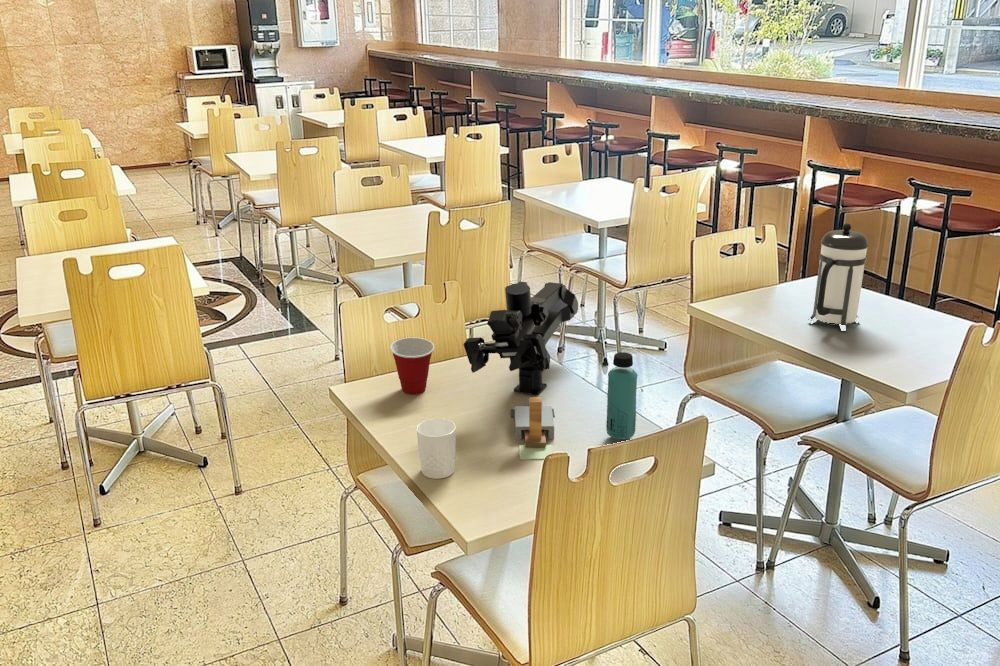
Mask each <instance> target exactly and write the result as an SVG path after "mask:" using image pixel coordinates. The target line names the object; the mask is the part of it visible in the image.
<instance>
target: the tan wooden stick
mask: <svg viewBox="0 0 1000 666" xmlns="http://www.w3.org/2000/svg"><path fill="white" fill-rule="evenodd" d="M528 401H529V405H528V406H529V430H523V431H524V445H525V447H546V445H547V441H546V440H547V439H546V430H541V426H542V406H543V403H542V402H543V401H542V397H541V396H533V397H532V396H530V397H529V400H528Z"/></svg>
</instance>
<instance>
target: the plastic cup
mask: <svg viewBox="0 0 1000 666" xmlns="http://www.w3.org/2000/svg"><path fill="white" fill-rule="evenodd" d="M435 346H436V345H435V344H434V343H433V342H432V341H431V340H429V339H426V338H422V337H414V336H413V337H411V336H409V337H403V338H399V339H397V340H394V341H392V343H391V344H390V346H389V350H390V351H391V352H392V356H393V359H394V363H395V367H396V371H397V375H398V379H399V381H400V382H399V383H400V386H401V389H402V392H403V393H404V394H407V395H421V394H422V393H424V392H425V391H426V389H427V382H428V377H429V371H430V370H429V369H430V363H431V357H432V354H433V352H434V350H435Z"/></svg>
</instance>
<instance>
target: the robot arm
mask: <svg viewBox="0 0 1000 666" xmlns="http://www.w3.org/2000/svg"><path fill="white" fill-rule="evenodd" d="M504 293H505V302H506V303H505V305H506V309H499V310H491V311H490V314H489V317H488V320H487V325H488V326H489V327H490V329H491V331H492V334H491V338H492V341H494V342H486V341H485V339H484V337H468V338H467V339H466V340H465V342H464V343H463V344H462V345H463V347H464V350H465V354H466V356H467V359H468V362H469V364H470V365H471V367H470V370H471V373H476V372H478V371H479V370H481V369H483V368H484V367H486V365H487V363H488V362H489V358H490V357H489V356H490V354H498V355H499V358H500V359H509V361H510V363H509V366H508V369H509V371H510V372H513V371H516V370H518V384H517V385H516V386H515V387H514V388H513V392H515V393H516V392H517V393H521V394H527V395H532V396H539V395H540V394H541V393H542V392H543V391H544V389H546V387H547V386H548V384H547V383H544V382H543V372H545V371H546V370H549V369H550V366H551V365H550V364H551V355H550V353H549V351H548V349H547V348H546V347H547V346H546V344H548V342H549V340H550V339H551V338H552V336H553V335H554V334H555V332H556V330H557V329H558V327H559V326H560V325H561V323H564V322H569V321H571V320H572V319H573V318H574V317H575V315H577V313H578V310H579V301H578V299H577V296H576V294H574V293H573V292H572V291H570V290H569V289H567V286H566V284H563V283H561V282H560V283H559V282H546V283H545V284H544V286H543V287H542V289H540V290H539V291H538V292H536V294H535V295H533V296H532V297H531V287H530V286H529V285H528V281H519V282H517V283H512V284H509V285H507V286H505V287H504Z"/></svg>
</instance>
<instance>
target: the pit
mask: <svg viewBox="0 0 1000 666" xmlns="http://www.w3.org/2000/svg"><path fill="white" fill-rule="evenodd" d="M552 413H553V418H555V417H556V416H555V410H554V408H552ZM510 418H513V419H515V408H511V409H510Z"/></svg>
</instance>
